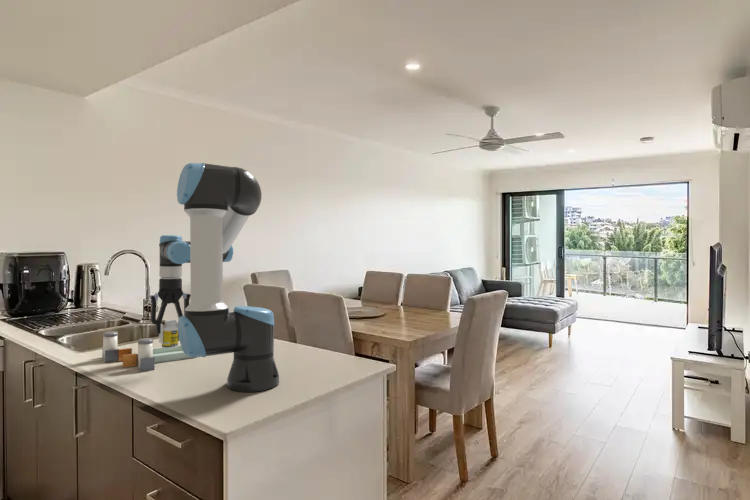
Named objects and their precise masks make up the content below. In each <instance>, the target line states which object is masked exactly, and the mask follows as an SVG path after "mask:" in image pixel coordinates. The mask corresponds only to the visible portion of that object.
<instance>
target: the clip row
mask: <svg viewBox="0 0 750 500" xmlns="http://www.w3.org/2000/svg"><path fill="white" fill-rule="evenodd" d="M101 352H102V354H101V358H102V357H103V345H102V351H101ZM111 362H112V363H113V362H122V368H129V367H138V353H135V352H134V353H133V348H132V347H128V348H121V349H120V348H118V349H112V350H105V361H104V363H111ZM155 364H156V363H155V357H149V358H141V362H140V369H139V370H140V372H147V371H153V370H155V367H156V365H155Z"/></svg>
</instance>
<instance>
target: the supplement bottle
mask: <svg viewBox="0 0 750 500" xmlns="http://www.w3.org/2000/svg"><path fill="white" fill-rule="evenodd" d="M177 322H178V320H177V319H167V320H164V325H163V343H161V347H162V348H164V349H173V348H176V347H178V345H179V341H178V327H177Z"/></svg>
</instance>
